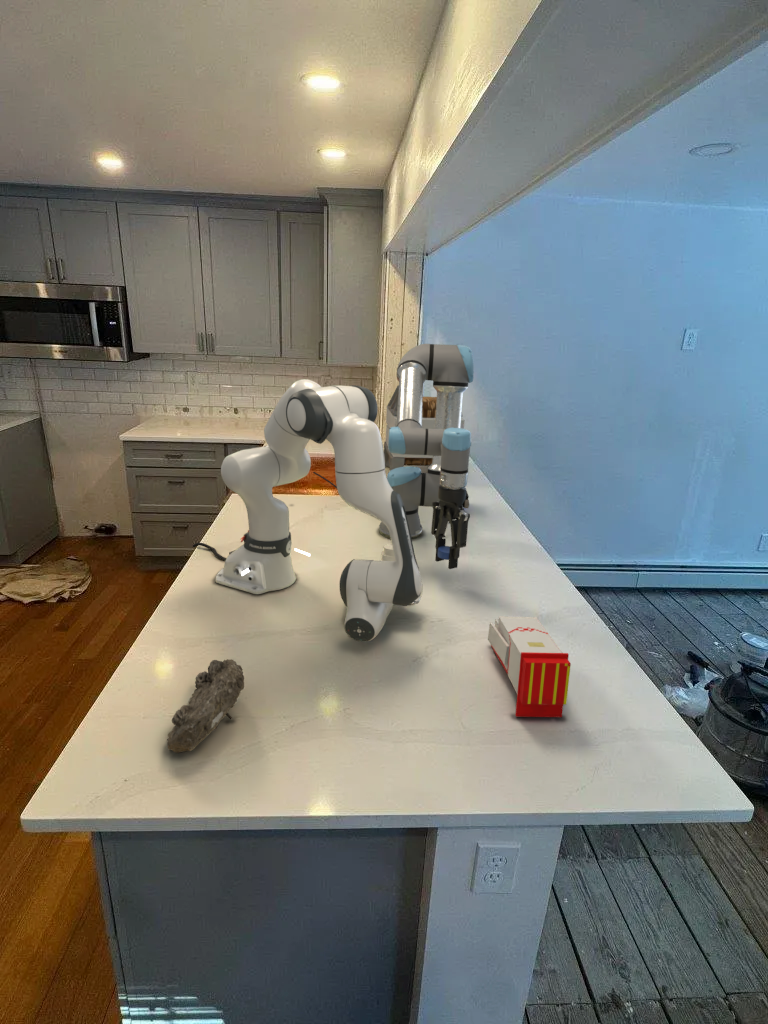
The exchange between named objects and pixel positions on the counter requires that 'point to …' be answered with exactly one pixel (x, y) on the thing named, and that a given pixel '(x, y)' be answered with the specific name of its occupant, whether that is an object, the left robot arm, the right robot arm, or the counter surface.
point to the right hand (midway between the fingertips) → (446, 563)
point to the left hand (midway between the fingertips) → (389, 574)
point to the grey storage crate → (427, 423)
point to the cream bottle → (388, 553)
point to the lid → (444, 552)
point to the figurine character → (466, 502)
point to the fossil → (206, 705)
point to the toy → (531, 665)
